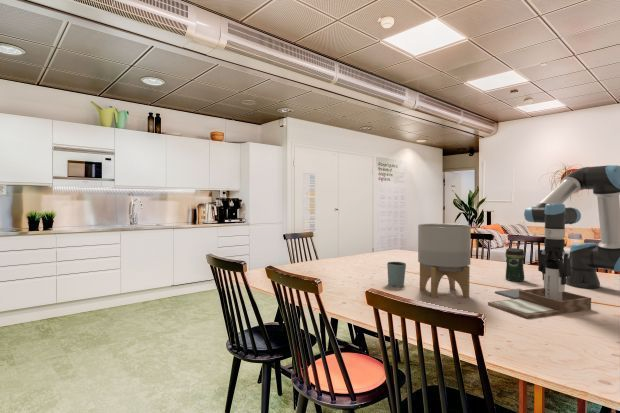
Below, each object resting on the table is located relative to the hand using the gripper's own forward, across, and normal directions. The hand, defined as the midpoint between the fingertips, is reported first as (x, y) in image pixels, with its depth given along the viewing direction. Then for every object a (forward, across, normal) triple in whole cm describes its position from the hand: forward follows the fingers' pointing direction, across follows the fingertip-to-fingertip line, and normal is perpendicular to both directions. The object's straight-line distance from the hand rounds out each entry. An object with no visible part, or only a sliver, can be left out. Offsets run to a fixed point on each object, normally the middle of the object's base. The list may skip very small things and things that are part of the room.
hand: (553, 289), depth 164 cm
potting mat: (+7, -19, 0) cm, 20 cm away
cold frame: (+7, 0, -9) cm, 11 cm away
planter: (+7, -34, -32) cm, 47 cm away
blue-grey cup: (+7, -57, -45) cm, 73 cm away
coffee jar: (+7, -44, +26) cm, 52 cm away
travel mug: (+7, 0, 0) cm, 7 cm away
